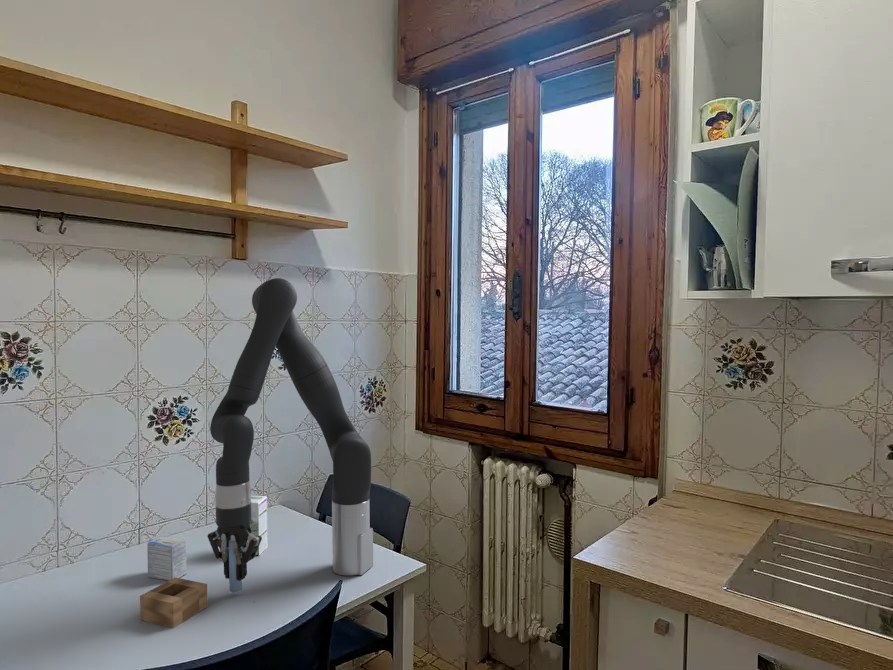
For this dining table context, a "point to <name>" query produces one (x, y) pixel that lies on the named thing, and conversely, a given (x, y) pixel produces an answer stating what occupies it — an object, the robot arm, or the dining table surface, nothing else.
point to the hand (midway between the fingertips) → (235, 577)
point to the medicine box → (166, 558)
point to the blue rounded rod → (233, 571)
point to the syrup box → (259, 521)
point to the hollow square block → (173, 602)
